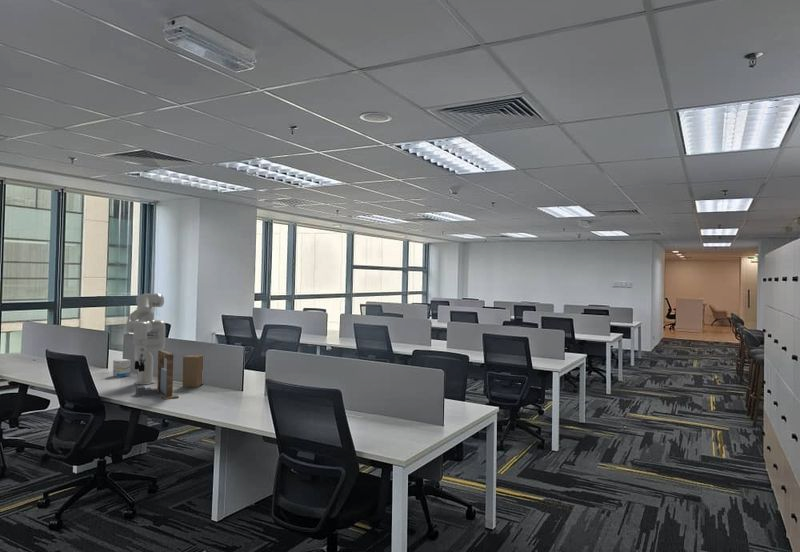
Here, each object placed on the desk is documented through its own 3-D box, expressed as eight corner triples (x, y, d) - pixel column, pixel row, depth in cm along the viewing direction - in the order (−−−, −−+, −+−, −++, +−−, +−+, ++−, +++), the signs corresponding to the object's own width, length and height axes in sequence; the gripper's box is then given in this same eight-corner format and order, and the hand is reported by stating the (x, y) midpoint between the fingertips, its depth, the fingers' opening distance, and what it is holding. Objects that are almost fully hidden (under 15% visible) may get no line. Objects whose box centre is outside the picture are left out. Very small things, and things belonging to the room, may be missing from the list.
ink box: (130, 375, 390) (131, 359, 390) (119, 377, 383) (119, 361, 383) (124, 374, 394) (124, 358, 394) (112, 376, 387) (113, 359, 387)
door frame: (151, 390, 344) (152, 349, 344) (164, 388, 348) (165, 348, 349) (164, 399, 319) (165, 355, 319) (178, 397, 324) (179, 354, 324)
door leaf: (160, 391, 340) (160, 367, 340) (163, 390, 342) (164, 367, 342) (167, 396, 326) (168, 371, 326) (171, 395, 328) (172, 371, 328)
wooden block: (203, 384, 364) (204, 355, 364) (196, 387, 354) (197, 357, 354) (189, 384, 365) (190, 354, 365) (182, 386, 355) (182, 356, 355)
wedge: (135, 394, 331) (135, 386, 331) (156, 392, 338) (156, 384, 338) (137, 396, 326) (137, 388, 326) (158, 393, 334) (158, 385, 334)
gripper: (150, 343, 325) (149, 371, 325) (143, 340, 338) (142, 367, 338) (136, 344, 320) (136, 372, 320) (130, 341, 333) (129, 368, 333)
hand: (139, 370), depth 329 cm, fingers open, 9 cm apart
